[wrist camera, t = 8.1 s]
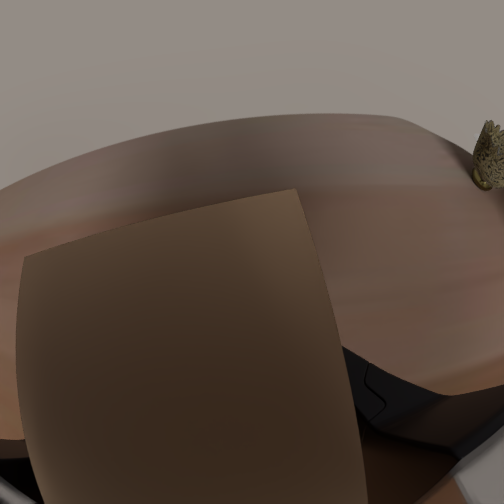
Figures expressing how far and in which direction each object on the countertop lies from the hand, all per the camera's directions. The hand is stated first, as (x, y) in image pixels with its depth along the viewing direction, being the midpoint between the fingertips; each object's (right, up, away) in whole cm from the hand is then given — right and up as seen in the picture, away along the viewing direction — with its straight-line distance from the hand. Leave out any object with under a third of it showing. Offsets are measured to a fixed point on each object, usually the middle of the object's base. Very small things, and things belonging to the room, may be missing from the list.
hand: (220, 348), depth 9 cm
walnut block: (+1, -4, +5) cm, 7 cm away
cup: (+31, +12, +16) cm, 37 cm away
